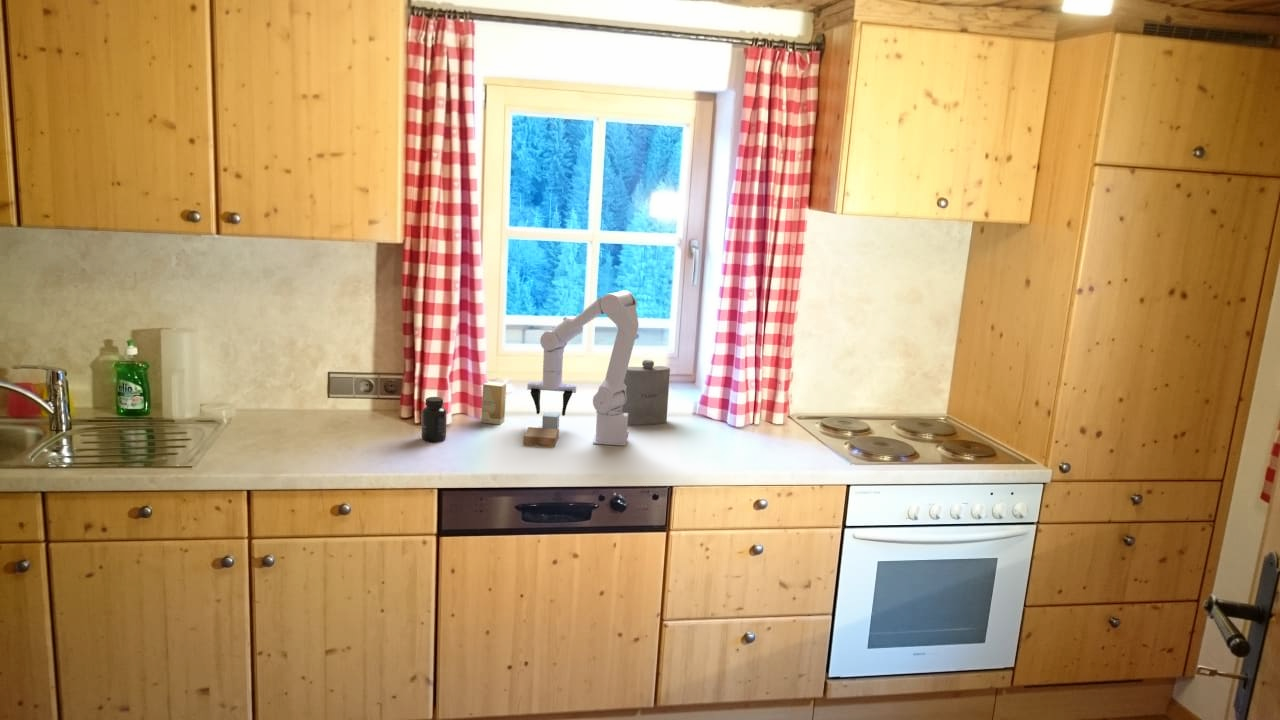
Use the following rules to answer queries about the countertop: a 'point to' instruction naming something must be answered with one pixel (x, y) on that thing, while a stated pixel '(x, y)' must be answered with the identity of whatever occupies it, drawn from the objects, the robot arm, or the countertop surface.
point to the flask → (646, 394)
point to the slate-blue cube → (550, 420)
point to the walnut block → (541, 436)
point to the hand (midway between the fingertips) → (550, 413)
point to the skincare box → (493, 402)
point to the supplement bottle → (434, 420)
